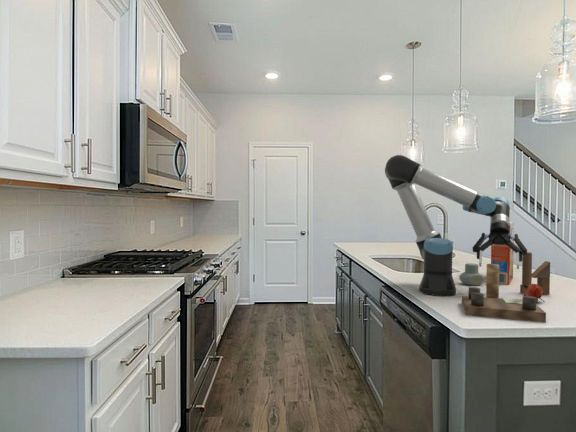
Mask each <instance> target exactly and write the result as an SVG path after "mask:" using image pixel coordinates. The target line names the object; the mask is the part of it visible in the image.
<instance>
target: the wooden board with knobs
mask: <svg viewBox="0 0 576 432" xmlns="http://www.w3.org/2000/svg"><path fill="white" fill-rule="evenodd" d="M462 305H463V306H462ZM461 306H462V308H463V312H464V313H465V316H471V315H472V317H473V316H474V317H483V318H494V319H495V318H497V319H504V320H505V319H506V320H507V319H508V320H516V319H517V320H516V321H519V320H520V321H528V320H530V322H539V321H540V322H541V323H546V322H547V312H546V311H545V310H543V308H541V307H540V306H539V305H538V304H537V302H536V297H532V296H524V295H522V299H521V298H520V299H519V298H508V297H502V298H486V296H485V293H482V292H481V288H480V287H476V286H469V287H468V295H462V296H461ZM540 322H539V323H540Z"/></svg>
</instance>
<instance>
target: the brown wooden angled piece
mask: <svg viewBox="0 0 576 432" xmlns="http://www.w3.org/2000/svg"><path fill="white" fill-rule="evenodd" d="M521 264H522V268H521V269H522V270H521V272H522V273H521V284H519V285H520V286H519V287H520V288H519V292H520V293H521V294H523V290H524V289H525V287H523V286H524V285H525V286H527V285H530V284H533V283H532V279H536V282H537V283H536V284H538V285H539V286H541V288H542V289H543V295H542V296H545V295H548V296H549V295H550V292H551V291H550V287H551V286H550V283H551V279H550V278H551V261H549V260H548V261H547V260H544V262H543V263H541V265H540V266H538V267H537V268H536V269H535V270H534V271H533V265H532V264H533V253H532V252H529V251H527V255H522V263H521Z"/></svg>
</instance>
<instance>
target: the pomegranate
mask: <svg viewBox="0 0 576 432" xmlns="http://www.w3.org/2000/svg"><path fill="white" fill-rule="evenodd" d="M523 287H525V289H524V290H523V293H522V294H523V295H522V296H532V297H536V303H537V302H538V301H539V300H540V301H542V302H544V303H545V302H546V301H545V300H543V299H542V297H543V296H544V295H543V289H542V288H541V286H539V285H538V284H537V283H531V284H530V285H527V286H525V285H524V286H523Z"/></svg>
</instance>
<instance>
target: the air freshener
mask: <svg viewBox="0 0 576 432" xmlns="http://www.w3.org/2000/svg"><path fill="white" fill-rule="evenodd" d="M464 265H465V266H464V271H463V272H461V273H460V274H459V277H458V278H459V281H460V282H461V283H462V284H465V285H467V286H471V287H476V286H479V285H482V284H483V283H484V281H485V278H484V275H482V273H479V264H478V263H474V262H469V263H468V262H467V263H465V264H464Z"/></svg>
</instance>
